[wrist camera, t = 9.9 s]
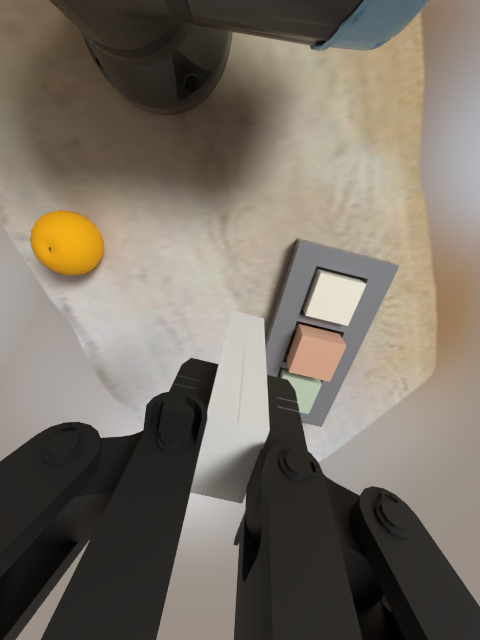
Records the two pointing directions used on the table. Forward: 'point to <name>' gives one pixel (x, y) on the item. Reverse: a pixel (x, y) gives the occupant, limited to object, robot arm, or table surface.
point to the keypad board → (289, 312)
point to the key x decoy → (315, 353)
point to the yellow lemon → (67, 242)
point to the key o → (302, 388)
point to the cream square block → (332, 296)
